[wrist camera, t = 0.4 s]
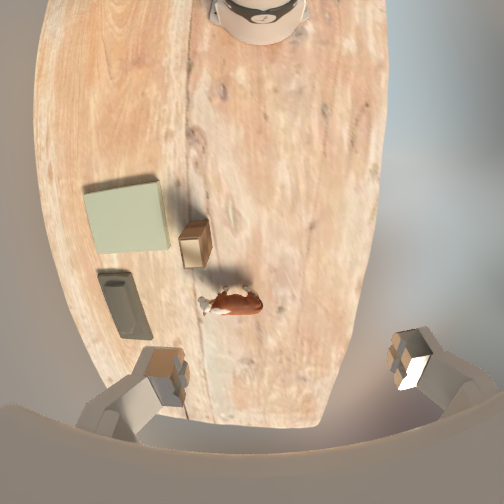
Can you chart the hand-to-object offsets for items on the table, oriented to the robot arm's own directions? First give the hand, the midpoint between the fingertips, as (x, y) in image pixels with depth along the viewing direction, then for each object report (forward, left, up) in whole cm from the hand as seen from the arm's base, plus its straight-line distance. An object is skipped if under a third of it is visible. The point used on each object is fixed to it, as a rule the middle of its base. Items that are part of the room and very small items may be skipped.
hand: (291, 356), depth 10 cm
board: (+7, -30, -45) cm, 55 cm away
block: (+12, -14, -45) cm, 49 cm away
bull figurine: (+26, -9, -46) cm, 53 cm away
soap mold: (+30, -37, -46) cm, 66 cm away
